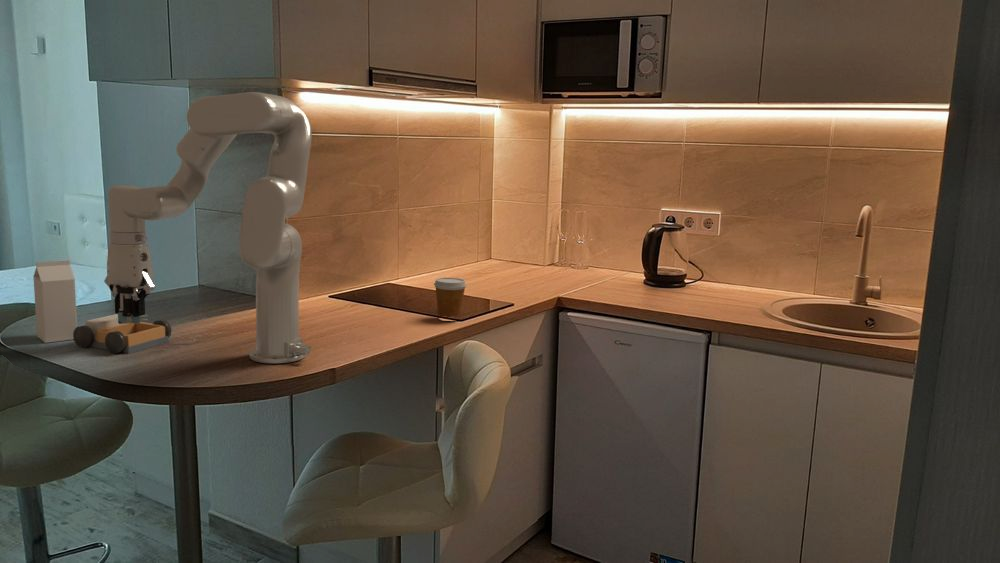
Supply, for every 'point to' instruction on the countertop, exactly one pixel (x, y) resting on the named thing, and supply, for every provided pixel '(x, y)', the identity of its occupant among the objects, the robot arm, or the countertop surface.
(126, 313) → the push button
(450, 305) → the disposable coffee cup
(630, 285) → the countertop surface
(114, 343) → the chassis
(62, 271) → the milk carton
